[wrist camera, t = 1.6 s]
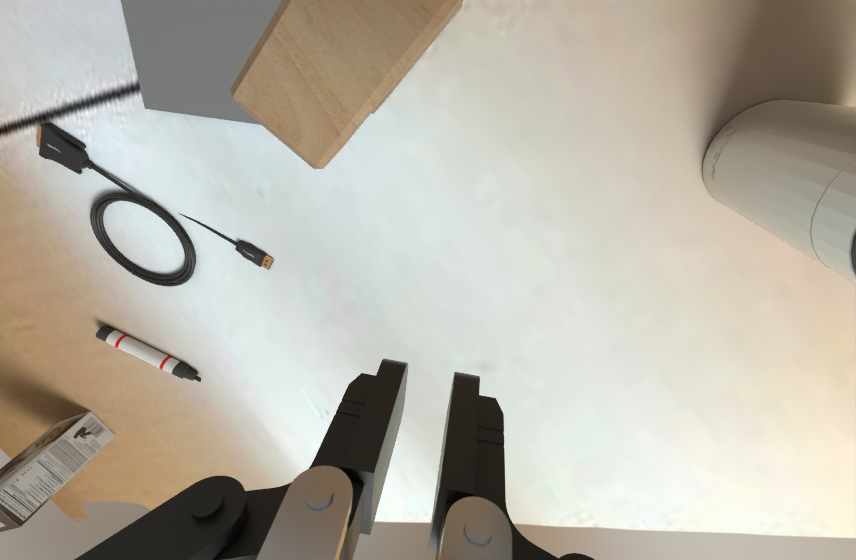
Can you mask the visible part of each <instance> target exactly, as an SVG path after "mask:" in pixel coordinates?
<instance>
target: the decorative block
mask: <svg viewBox="0 0 856 560" xmlns="http://www.w3.org/2000/svg"><path fill="white" fill-rule="evenodd" d="M462 2H463V0H282V2H281V3H280V5H279V7H278V8H277V10H276V12H275V14H274V15H273V17H272V19H271V20H270V22H269V24H268V25H267V27H266V29H265V30H264V32H263V34H262V36H261V37H260V39H259V41H258V42H257V44H256V46H255V47H254V49H253V51H252V53H251V54H250V56H249V58H248V59H247V61H246V63H245V64H244V66H243V68H242V70H241V71H240V73H239V75H238V76H237V78H236V80H235V81H234V83H233V85H232V87H231V88H230V91H231V95H232V98H233V101H234V102H235V103H237V104H238V105H239V106H240V107H241V108H242V109H244V110H245V111H246V112H247V113H248V114H250V115H251V116H252V117H253V118H254V119H255V120H257V121H258V122H259V123H260V124H261V125H263V126H264V127H265V128H266V129H267V130H269V131H270V132H271V133H272V134H273V135H274V136H276V137H277V138H278V139H279V140H280V141H282V142H283V143H284V144H285V145H286V146H287V147H289V148H290V149H291V150H292V151H293V152H295V153H296V154H297V155H298V156H299V157H301V158H302V159H303V160H304V161H305V162H306V163H308V164H309V165H310V166H311V167H312V168H314V169H323V168H324V167H325V166H326V165H327V164H328V163H329V162H330V161H331V160H332V159H333V157H334V156H335V155H336V154H337V153H338V152H339V151H340V150H341V149H342V148H343V146H344V145H345V144H346V143H347V141H348V140H349V139H350V138H351V137H352V135H353V134H354V133H355V132H356V130H357V129H358V128H359V127H360V126H361V124H362V123H363V122H364V121H365V119H366V118H367V117H368V116H369V115H370V113H374V112H375V111H376V110H377V109H378V108H379V107H380V106H381V105H382V104H383V102H384V101H385V100H386V99H387V97H388V96H389V95H390V94H391V93H392V91H393V90H394V89H395V88H396V86H397V85H398V84H399V83H400V82H401V80H402V79H403V78H404V77H405V75H406V74H407V73H408V72H409V71H410V69H411V68H412V67H413V66H414V64H415V63H416V62H417V61H418V60H419V58H420V57H421V56H422V55H423V53H424V52H425V51H426V50H427V49H428V47H429V46H430V45H431V44H432V42H433V41H434V40H435V39H436V38H437V36H438V35H439V34H440V33H441V31H442V30H443V29H444V28H445V26H446V25H447V24H448V23H449V22H450V20H451V19H452V18H453V17H454V15H455V14H456V13H457V12H458V11H459V9H460V8H461V6H462Z"/></svg>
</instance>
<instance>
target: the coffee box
mask: <svg viewBox="0 0 856 560" xmlns="http://www.w3.org/2000/svg"><path fill="white" fill-rule="evenodd" d="M114 436H115V434H114V433H113V432H112V431H111V430H110V429H109V428H108V427H107V426H106V425H105V424H104V423H103V422H102V421H101V420H100V419H99V418H98V417H97V416H96V415H95V414H94V413H92V412H91V411H88V412H85V413H82V414H79V415H76V416H73V417H71V418H68V419H65V420H62V421H59V422H57V423H56V424H55V425H54V426H53V427H51V428H50V429H49V430H48V431H47V432H45V433H44V434H43V435H42V436H41V437H39V438H38V439H37V440H36V441H34V442H33V443H32V444H31V445H30V446H28V447H27V448H26V449H25V450H23V451H22V452H21V453H20V454H19V455H17V456H16V457H15V458H14V459H12V460H11V461H10V462H9V463H7V464H6V465H5V466H4V467H3V468H1V469H0V532H2V531H6V530H10V529H14V528H18V527H21V526H23V524H24V523H25V522H26V521H27V520H28V519H29V518H31V517H32V516H33V515H34V514H35V513H36V512H37V511H38V510H39V509H40V508H41V507H42V506H43V505H44V504H45V503H46V502H47V501H48V500H49V499H50V498H51V497H52V496H53V495H54V494H55V493H56V492H57V491H58V490H59V489H60V488H61V487H62V486H64V485H65V484H66V483H67V482H68V481H69V480H70V479H71V478H72V477H73V476H74V475H75V474H76V473H77V472H78V471H79V470H80V469H81V468H82V467H83V466H84V465H85V464H86V463H87V462H88V461H90V459H91V458H93V457H94V456H95V455H96V454H97V453H98V452H99V451H100V450H101V449H102V448H103V447H104V446H105V445H106V444H107V443H108V442H109V441H110V440H111V439H112V438H113V437H114Z"/></svg>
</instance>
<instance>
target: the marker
mask: <svg viewBox="0 0 856 560" xmlns="http://www.w3.org/2000/svg"><path fill="white" fill-rule="evenodd" d="M96 337H97V338H99V339H101V340H103V341H105V342H107V343H108V344H111V345H113V346H115V347H117V348H119V349H121V350H123V351H125V352H127V353H129V354H131V355H133V356H135V357H137V358H140V359H142V360H144V361H146V362H148V363H150V364H152V365H154V366H156V367H158V368H160V369H162V370H164V371H166V372H169V373H171V374H173V375H175V376H178V377H180V378H187V379H190V380H192V381H193V380H194V379H195V380H197V381H199V382H201V378H200V377H198V376H197V374H198V373H196V372H195V371H193V370H192V369H190V366H188V365H186V364H184V363H182V362H180V361H178V360H176V359H174V358H172V357H170V356H168V355H166V354H164V353H162V352H160V351H158V350H156V349H154V348H152V347H150V346H148V345H145V344H143V343H141V342H139V341H137V340H135V339H133V338H131V337H129V336H127V335H125V334H123V333H121V332H119V331H117V330H114V329H112V328H110V327H108V326H103V327H101V328H100V329H99V330H98V332H97V333H96Z"/></svg>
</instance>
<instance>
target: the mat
mask: <svg viewBox="0 0 856 560" xmlns="http://www.w3.org/2000/svg"><path fill="white" fill-rule="evenodd" d="M281 2H282V0H121V3H122V7H123V12H124V16H125V21H126V25H127V30H128V34H129V39H130V43H131V48H132V52H133V57H134V61H135V66H136V70H137V75H138V79H139V84H140V88H141V93H142V97H143V102H144V106H145V109H152V110H160V111H167V112H174V113H181V114H188V115H196V116H203V117H210V118H217V119H224V120H232V121H239V122H246V123H253V124H260V123H259V122H258V121H257V120H255V119H254V118H253V117H252V116H251V115H250V114H248V113H247V112H246V111H245V110H244V109H242V108H241V107H240V106H239V105H238V104H237V103H235V102H234V101H233V98H232V95H231V91H230V88H231V87H232V85H233V83H234V81H235V80H236V78H237V76H238V75H239V73H240V71H241V70H242V68H243V66H244V64H245V63H246V61H247V59H248V58H249V56H250V54H251V53H252V51H253V49H254V47H255V46H256V44H257V42H258V41H259V39H260V37H261V36H262V34H263V32H264V30H265V29H266V27H267V25H268V24H269V22H270V20H271V19H272V17H273V15H274V14H275V12H276V10H277V8H278V7H279V5H280V3H281ZM260 125H261V124H260Z"/></svg>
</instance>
